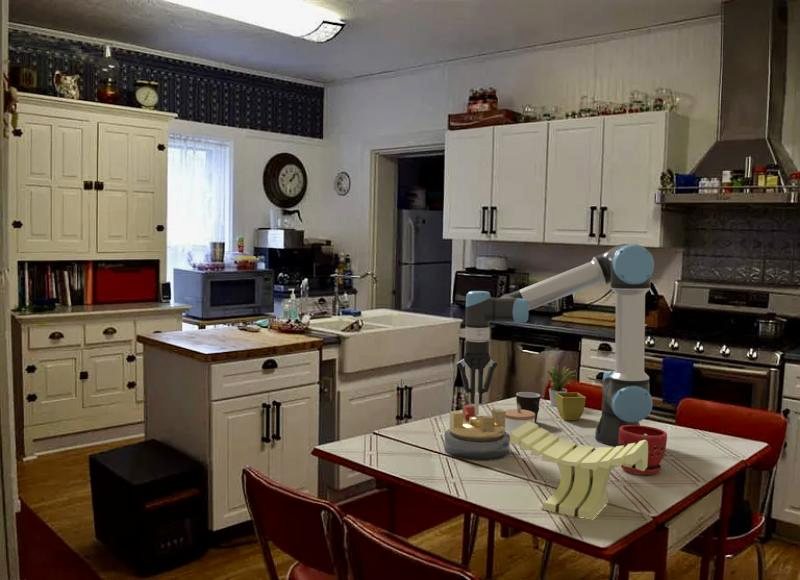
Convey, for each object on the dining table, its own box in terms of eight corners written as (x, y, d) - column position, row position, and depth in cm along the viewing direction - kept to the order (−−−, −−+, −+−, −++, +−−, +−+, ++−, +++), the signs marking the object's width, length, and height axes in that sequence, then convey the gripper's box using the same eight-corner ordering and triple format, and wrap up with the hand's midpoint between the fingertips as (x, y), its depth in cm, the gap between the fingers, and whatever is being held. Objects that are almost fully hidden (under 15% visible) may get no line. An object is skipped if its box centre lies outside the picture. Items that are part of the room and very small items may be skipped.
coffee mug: (514, 418, 267) (515, 391, 266) (538, 419, 266) (539, 392, 265) (515, 426, 255) (516, 398, 255) (540, 428, 254) (541, 399, 254)
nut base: (522, 451, 227) (522, 434, 226) (483, 465, 212) (483, 447, 212) (471, 437, 240) (471, 422, 240) (431, 449, 226) (431, 433, 225)
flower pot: (554, 416, 272) (555, 392, 271) (576, 415, 273) (577, 392, 272) (561, 422, 263) (562, 397, 263) (585, 422, 264) (586, 397, 264)
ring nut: (491, 425, 236) (492, 403, 236) (514, 439, 220) (514, 416, 219) (442, 427, 232) (442, 406, 231) (461, 443, 215) (461, 419, 215)
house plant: (569, 411, 279) (571, 369, 278) (534, 406, 286) (536, 365, 285) (580, 404, 291) (582, 364, 290) (546, 400, 298) (548, 360, 297)
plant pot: (660, 480, 202) (662, 438, 201) (612, 472, 208) (614, 431, 207) (668, 468, 213) (670, 427, 212) (622, 460, 219) (624, 421, 218)
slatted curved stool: (645, 507, 182) (648, 436, 180) (630, 528, 168) (633, 452, 166) (530, 484, 197) (532, 419, 195) (507, 502, 183) (510, 432, 182)
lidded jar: (536, 440, 239) (538, 412, 238) (504, 439, 239) (505, 411, 238) (531, 431, 249) (532, 404, 249) (500, 430, 250) (501, 403, 249)
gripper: (458, 341, 226) (457, 416, 228) (499, 341, 227) (498, 416, 229) (455, 338, 234) (454, 411, 235) (495, 338, 235) (493, 410, 236)
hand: (475, 413), depth 232 cm, fingers closed
